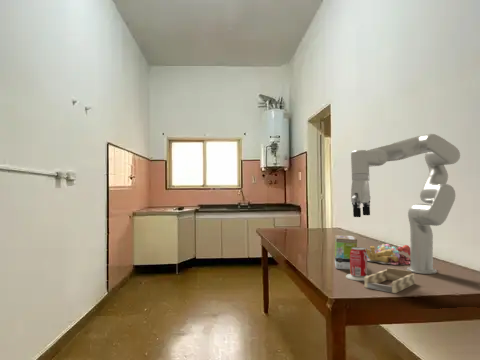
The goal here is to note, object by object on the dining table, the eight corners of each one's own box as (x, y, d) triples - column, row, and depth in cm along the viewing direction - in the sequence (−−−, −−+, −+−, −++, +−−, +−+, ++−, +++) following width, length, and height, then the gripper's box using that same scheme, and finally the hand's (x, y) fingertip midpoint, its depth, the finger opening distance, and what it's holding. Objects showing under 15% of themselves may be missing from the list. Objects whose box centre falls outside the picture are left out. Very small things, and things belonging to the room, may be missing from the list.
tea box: (357, 270, 182) (357, 238, 183) (335, 269, 184) (335, 238, 185) (354, 264, 197) (354, 235, 197) (334, 263, 199) (334, 234, 199)
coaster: (352, 274, 173) (352, 272, 173) (374, 278, 166) (374, 276, 166) (341, 278, 166) (341, 276, 166) (363, 282, 159) (363, 280, 159)
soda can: (363, 274, 170) (363, 246, 170) (369, 277, 163) (369, 249, 163) (347, 274, 169) (347, 246, 170) (353, 278, 162) (353, 249, 163)
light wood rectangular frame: (385, 278, 165) (385, 267, 165) (414, 283, 157) (414, 271, 157) (364, 287, 150) (364, 274, 150) (395, 293, 142) (395, 279, 142)
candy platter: (406, 268, 189) (406, 249, 189) (359, 262, 203) (359, 244, 203) (417, 260, 209) (417, 243, 209) (374, 256, 223) (374, 240, 223)
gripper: (360, 177, 181) (362, 214, 181) (343, 178, 168) (345, 217, 168) (376, 177, 176) (377, 214, 176) (360, 177, 163) (361, 218, 163)
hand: (361, 216), depth 172 cm, fingers open, 9 cm apart
